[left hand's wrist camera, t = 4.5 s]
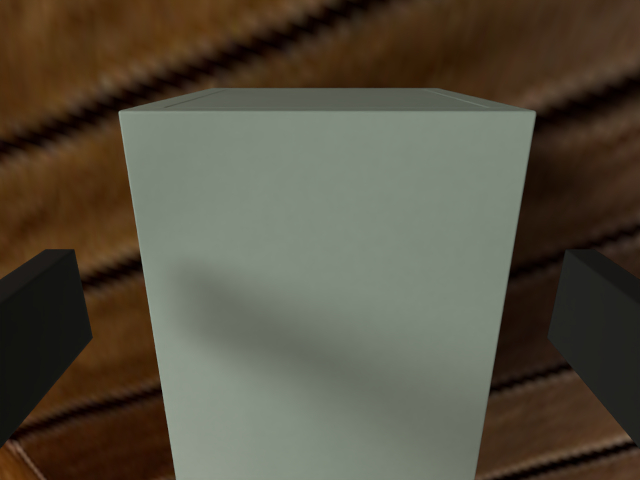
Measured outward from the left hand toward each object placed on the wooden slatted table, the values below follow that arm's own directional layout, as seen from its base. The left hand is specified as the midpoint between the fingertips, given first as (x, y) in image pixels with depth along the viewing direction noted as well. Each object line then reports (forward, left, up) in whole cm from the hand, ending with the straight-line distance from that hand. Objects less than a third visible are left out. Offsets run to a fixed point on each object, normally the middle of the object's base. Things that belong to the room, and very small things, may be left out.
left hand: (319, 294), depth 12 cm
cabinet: (+2, +6, -13) cm, 15 cm away
